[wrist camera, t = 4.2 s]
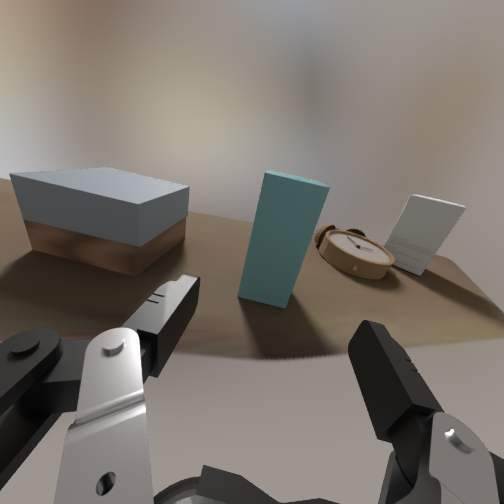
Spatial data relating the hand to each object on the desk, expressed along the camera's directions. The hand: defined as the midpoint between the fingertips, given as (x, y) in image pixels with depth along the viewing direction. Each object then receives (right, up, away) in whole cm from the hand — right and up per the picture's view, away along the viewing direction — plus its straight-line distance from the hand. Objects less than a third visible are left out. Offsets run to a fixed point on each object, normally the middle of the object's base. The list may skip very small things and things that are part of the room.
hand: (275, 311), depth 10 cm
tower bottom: (-17, +4, +15) cm, 23 cm away
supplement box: (+28, +1, +30) cm, 41 cm away
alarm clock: (+16, +2, +27) cm, 31 cm away
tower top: (-16, +7, +13) cm, 22 cm away
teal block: (0, -1, +13) cm, 13 cm away
